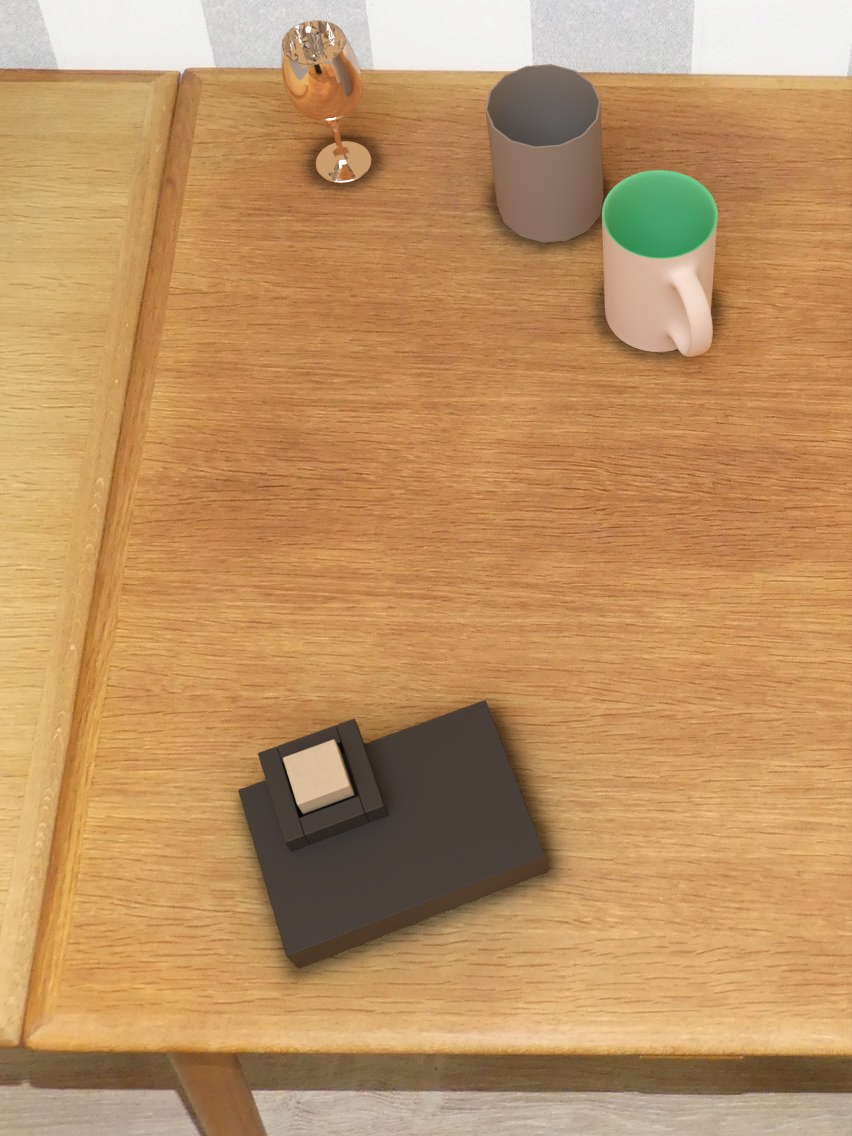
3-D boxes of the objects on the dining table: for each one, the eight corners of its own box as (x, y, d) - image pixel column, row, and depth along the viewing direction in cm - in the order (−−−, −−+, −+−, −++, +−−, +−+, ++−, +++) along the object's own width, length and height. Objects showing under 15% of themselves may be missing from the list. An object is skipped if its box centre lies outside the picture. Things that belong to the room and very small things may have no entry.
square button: (355, 795, 86) (349, 785, 85) (303, 814, 86) (297, 805, 84) (339, 749, 87) (334, 738, 86) (288, 767, 87) (282, 757, 85)
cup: (564, 258, 111) (558, 164, 102) (477, 214, 113) (463, 118, 104) (622, 188, 114) (621, 92, 105) (537, 147, 116) (529, 48, 107)
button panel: (548, 871, 89) (544, 846, 84) (298, 969, 86) (279, 949, 81) (484, 704, 94) (477, 673, 89) (245, 792, 91) (225, 764, 86)
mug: (753, 367, 107) (765, 275, 97) (656, 406, 105) (658, 316, 96) (681, 253, 111) (685, 155, 102) (587, 289, 110) (582, 193, 100)
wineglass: (392, 169, 115) (368, 49, 104) (329, 200, 113) (298, 82, 103) (356, 125, 117) (328, 4, 106) (294, 155, 116) (259, 35, 105)
